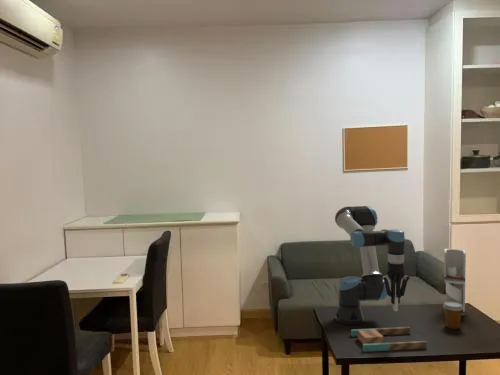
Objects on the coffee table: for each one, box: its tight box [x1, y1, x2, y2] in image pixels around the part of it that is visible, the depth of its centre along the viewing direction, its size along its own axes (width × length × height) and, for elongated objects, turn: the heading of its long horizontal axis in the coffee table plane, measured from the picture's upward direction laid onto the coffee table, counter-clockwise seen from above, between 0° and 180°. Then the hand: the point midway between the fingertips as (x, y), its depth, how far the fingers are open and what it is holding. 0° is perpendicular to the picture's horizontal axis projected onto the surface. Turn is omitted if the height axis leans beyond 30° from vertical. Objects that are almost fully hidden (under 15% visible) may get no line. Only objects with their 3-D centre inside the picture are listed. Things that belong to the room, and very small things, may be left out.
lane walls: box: [374, 326, 428, 351], centre depth 214 cm, size 18×19×3 cm
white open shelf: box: [443, 248, 467, 316], centre depth 253 cm, size 11×11×35 cm
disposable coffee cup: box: [442, 301, 463, 330], centre depth 231 cm, size 10×10×12 cm
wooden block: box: [357, 329, 384, 345], centre depth 213 cm, size 9×9×4 cm
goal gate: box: [350, 327, 390, 353], centre depth 213 cm, size 12×19×3 cm, turn 5°
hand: (395, 310), depth 213 cm, fingers closed
